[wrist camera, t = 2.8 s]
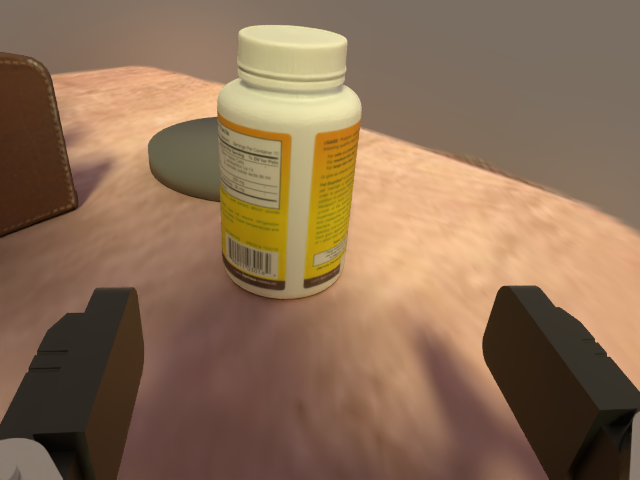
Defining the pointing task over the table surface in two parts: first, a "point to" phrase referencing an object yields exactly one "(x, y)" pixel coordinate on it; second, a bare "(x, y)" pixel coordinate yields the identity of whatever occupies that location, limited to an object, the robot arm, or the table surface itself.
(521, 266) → the table surface
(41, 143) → the letter holder
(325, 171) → the supplement bottle
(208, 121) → the coaster
